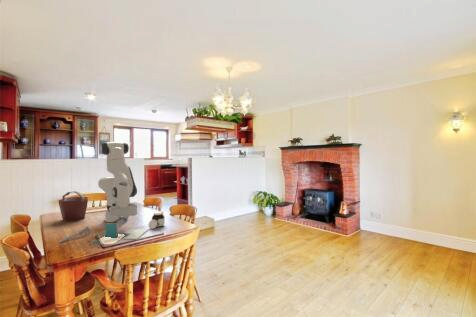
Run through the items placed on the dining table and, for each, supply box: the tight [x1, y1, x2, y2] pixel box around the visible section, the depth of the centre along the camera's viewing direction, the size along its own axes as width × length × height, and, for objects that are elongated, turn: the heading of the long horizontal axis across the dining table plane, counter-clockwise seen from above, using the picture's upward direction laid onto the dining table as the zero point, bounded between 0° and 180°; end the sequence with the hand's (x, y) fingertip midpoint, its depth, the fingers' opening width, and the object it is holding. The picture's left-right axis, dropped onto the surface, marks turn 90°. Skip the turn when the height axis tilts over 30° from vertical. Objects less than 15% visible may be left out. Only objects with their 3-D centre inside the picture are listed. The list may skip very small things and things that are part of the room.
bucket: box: [58, 191, 89, 222], centre depth 218 cm, size 24×22×25 cm
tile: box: [104, 222, 119, 238], centre depth 168 cm, size 2×8×10 cm, turn 90°
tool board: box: [123, 228, 149, 241], centre depth 174 cm, size 20×9×1 cm, turn 0°
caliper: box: [58, 226, 91, 244], centre depth 167 cm, size 20×1×6 cm, turn 153°
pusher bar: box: [112, 216, 128, 229], centre depth 180 cm, size 16×3×5 cm, turn 0°
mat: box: [89, 232, 129, 246], centre depth 166 cm, size 22×16×1 cm
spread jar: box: [148, 211, 166, 230], centre depth 194 cm, size 12×11×12 cm
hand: (123, 221), depth 185 cm, fingers closed on pusher bar, 3 cm apart
